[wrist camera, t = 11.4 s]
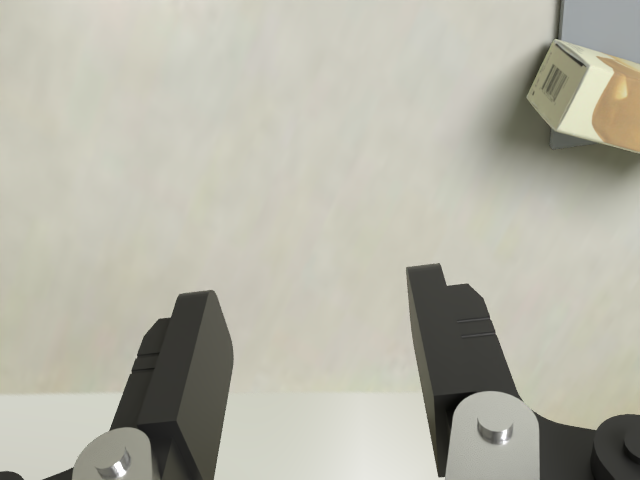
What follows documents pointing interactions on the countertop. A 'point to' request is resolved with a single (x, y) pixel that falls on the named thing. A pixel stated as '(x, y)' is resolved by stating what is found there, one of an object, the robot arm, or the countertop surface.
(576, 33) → the mat
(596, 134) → the skincare box
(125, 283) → the countertop surface
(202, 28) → the countertop surface
